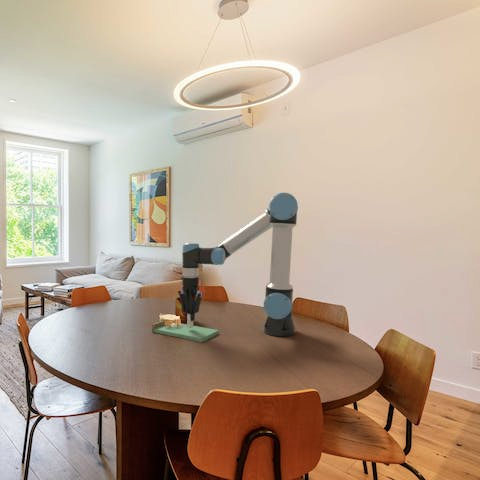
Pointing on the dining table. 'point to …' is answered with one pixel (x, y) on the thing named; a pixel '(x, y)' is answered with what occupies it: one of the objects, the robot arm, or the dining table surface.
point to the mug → (180, 311)
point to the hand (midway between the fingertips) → (190, 327)
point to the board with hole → (185, 331)
